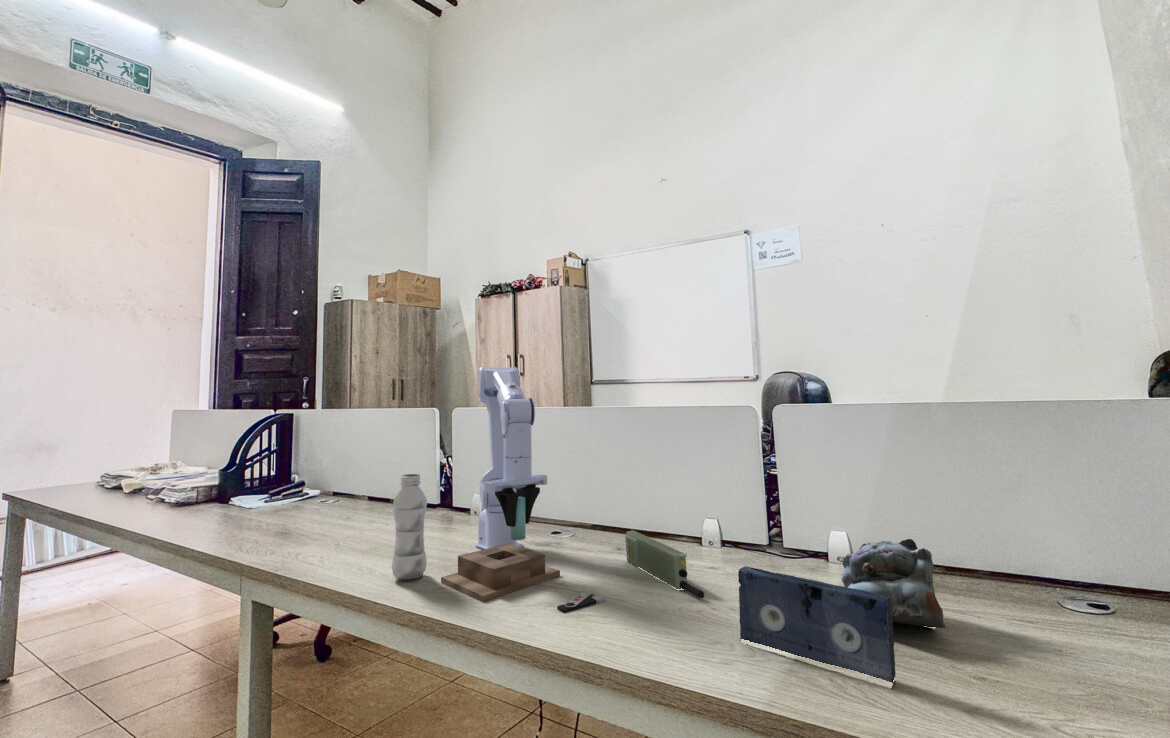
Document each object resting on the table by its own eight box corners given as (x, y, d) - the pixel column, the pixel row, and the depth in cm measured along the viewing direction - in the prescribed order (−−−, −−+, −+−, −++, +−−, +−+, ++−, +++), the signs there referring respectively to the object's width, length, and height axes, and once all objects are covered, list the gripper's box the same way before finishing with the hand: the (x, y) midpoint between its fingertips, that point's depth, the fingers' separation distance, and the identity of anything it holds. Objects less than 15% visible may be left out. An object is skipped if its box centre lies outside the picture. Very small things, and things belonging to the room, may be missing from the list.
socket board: (441, 582, 94) (441, 558, 94) (516, 561, 106) (516, 539, 107) (482, 601, 84) (482, 574, 84) (560, 575, 97) (559, 552, 97)
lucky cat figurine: (817, 618, 76) (814, 527, 83) (867, 635, 80) (860, 548, 87) (916, 622, 64) (903, 517, 71) (970, 643, 68) (952, 541, 75)
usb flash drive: (563, 616, 79) (563, 609, 79) (547, 605, 83) (547, 599, 83) (606, 603, 84) (606, 597, 84) (589, 594, 88) (589, 588, 88)
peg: (507, 538, 100) (507, 498, 100) (519, 535, 102) (519, 496, 102) (516, 540, 97) (516, 499, 98) (528, 538, 99) (528, 498, 100)
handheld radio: (638, 560, 107) (710, 600, 84) (624, 563, 105) (694, 605, 82) (636, 529, 107) (708, 560, 84) (623, 531, 106) (692, 564, 83)
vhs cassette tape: (897, 682, 58) (892, 595, 59) (892, 693, 56) (887, 602, 57) (748, 636, 70) (745, 564, 71) (739, 643, 68) (736, 569, 69)
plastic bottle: (431, 572, 99) (433, 472, 101) (417, 584, 93) (418, 477, 94) (401, 572, 100) (403, 472, 102) (384, 583, 93) (387, 477, 95)
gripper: (500, 460, 93) (500, 534, 92) (556, 455, 103) (557, 521, 102) (479, 458, 98) (478, 528, 97) (534, 453, 108) (535, 516, 107)
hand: (517, 524), depth 100 cm, fingers closed on peg, 3 cm apart
